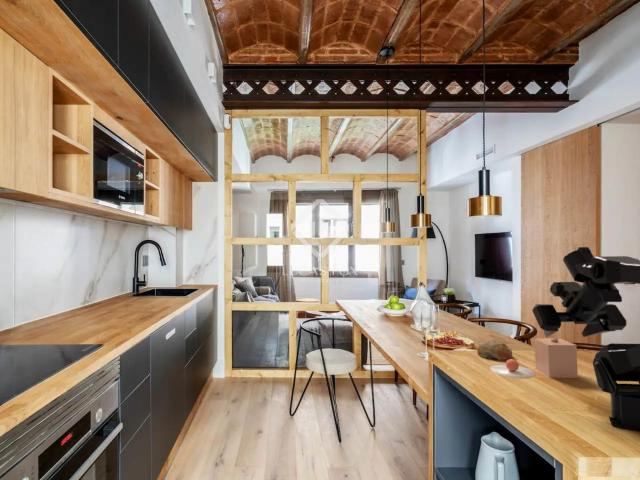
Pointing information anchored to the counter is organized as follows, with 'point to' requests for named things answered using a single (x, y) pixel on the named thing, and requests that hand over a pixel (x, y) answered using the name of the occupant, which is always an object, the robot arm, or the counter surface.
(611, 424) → the robot arm
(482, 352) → the bread roll
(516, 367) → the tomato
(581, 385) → the counter surface
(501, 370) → the plate
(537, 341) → the pink knobbed box
